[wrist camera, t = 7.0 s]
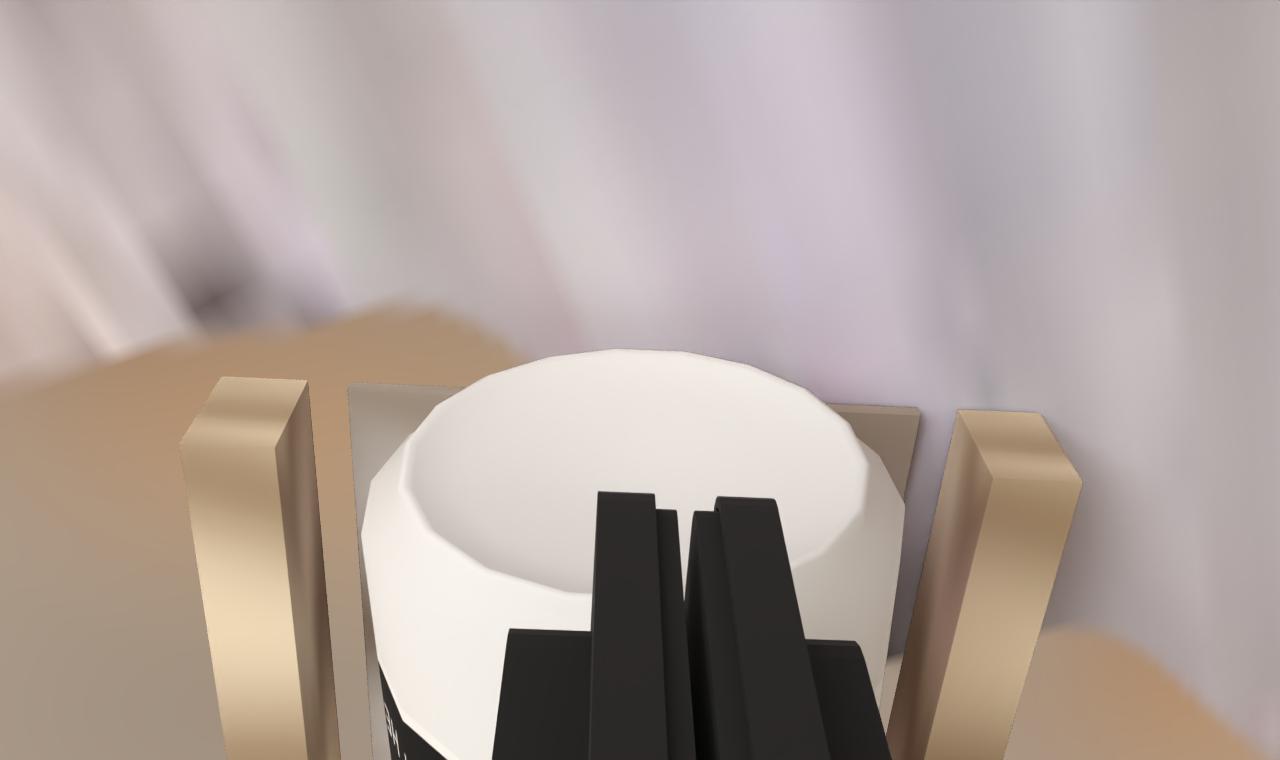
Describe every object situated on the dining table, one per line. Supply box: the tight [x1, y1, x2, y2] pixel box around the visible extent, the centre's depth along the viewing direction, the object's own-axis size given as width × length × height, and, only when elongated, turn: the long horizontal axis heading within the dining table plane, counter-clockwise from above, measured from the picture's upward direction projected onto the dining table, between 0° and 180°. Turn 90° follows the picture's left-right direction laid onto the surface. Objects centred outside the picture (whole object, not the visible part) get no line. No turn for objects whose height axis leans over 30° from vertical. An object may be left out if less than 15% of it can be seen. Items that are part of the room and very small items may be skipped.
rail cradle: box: [179, 376, 1083, 760], centre depth 24 cm, size 14×16×2 cm
